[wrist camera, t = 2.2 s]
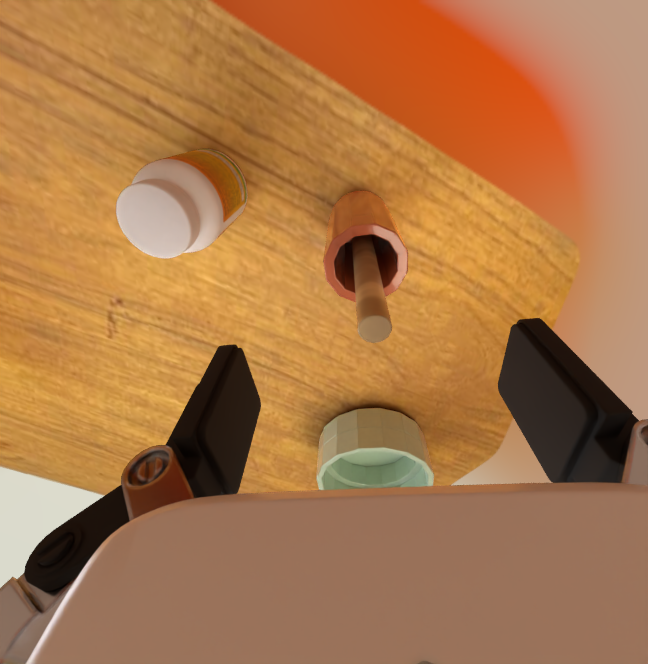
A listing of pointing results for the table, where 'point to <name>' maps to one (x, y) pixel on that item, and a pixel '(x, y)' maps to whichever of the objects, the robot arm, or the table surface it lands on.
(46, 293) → the table surface
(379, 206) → the utensil pot
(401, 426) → the bowl
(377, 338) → the stick
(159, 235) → the supplement bottle
